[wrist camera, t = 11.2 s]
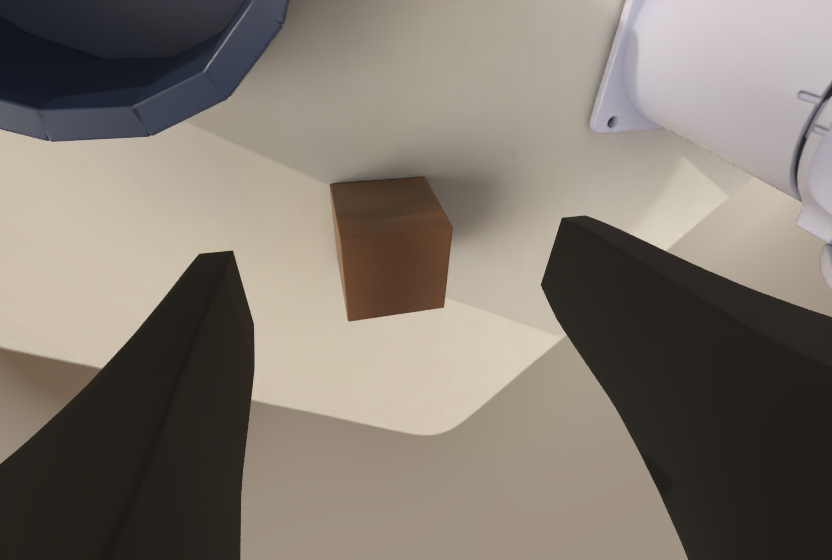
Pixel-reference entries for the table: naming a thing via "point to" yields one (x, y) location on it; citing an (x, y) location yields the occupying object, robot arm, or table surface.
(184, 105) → the tin
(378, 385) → the table surface
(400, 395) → the table surface
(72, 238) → the table surface
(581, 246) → the robot arm
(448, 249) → the block
